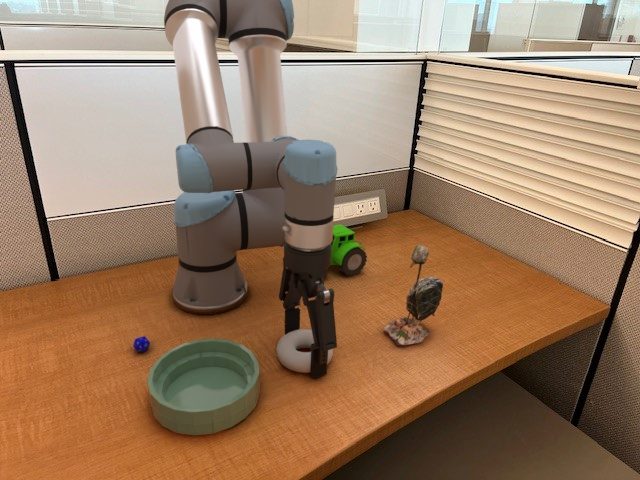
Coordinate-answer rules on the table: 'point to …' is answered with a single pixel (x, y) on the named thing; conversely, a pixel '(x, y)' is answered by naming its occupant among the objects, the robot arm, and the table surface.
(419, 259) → the stacked rock sculpture
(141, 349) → the die
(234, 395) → the green ribbed bowl
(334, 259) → the toy tractor
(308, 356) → the donut
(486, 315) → the table surface
